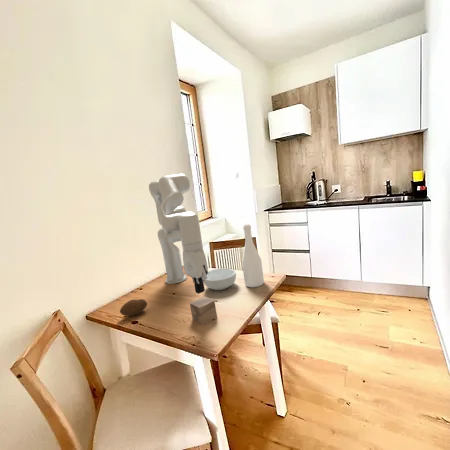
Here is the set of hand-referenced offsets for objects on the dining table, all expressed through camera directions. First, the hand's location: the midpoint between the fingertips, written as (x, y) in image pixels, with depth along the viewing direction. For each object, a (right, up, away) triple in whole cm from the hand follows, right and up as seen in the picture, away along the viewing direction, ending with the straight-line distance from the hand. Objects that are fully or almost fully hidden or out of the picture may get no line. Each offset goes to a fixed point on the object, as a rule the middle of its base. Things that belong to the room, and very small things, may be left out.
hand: (200, 291), depth 100 cm
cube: (+1, -4, +1) cm, 4 cm away
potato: (-30, -14, +14) cm, 36 cm away
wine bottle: (+24, -4, +28) cm, 37 cm away
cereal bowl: (+8, -6, +30) cm, 32 cm away
